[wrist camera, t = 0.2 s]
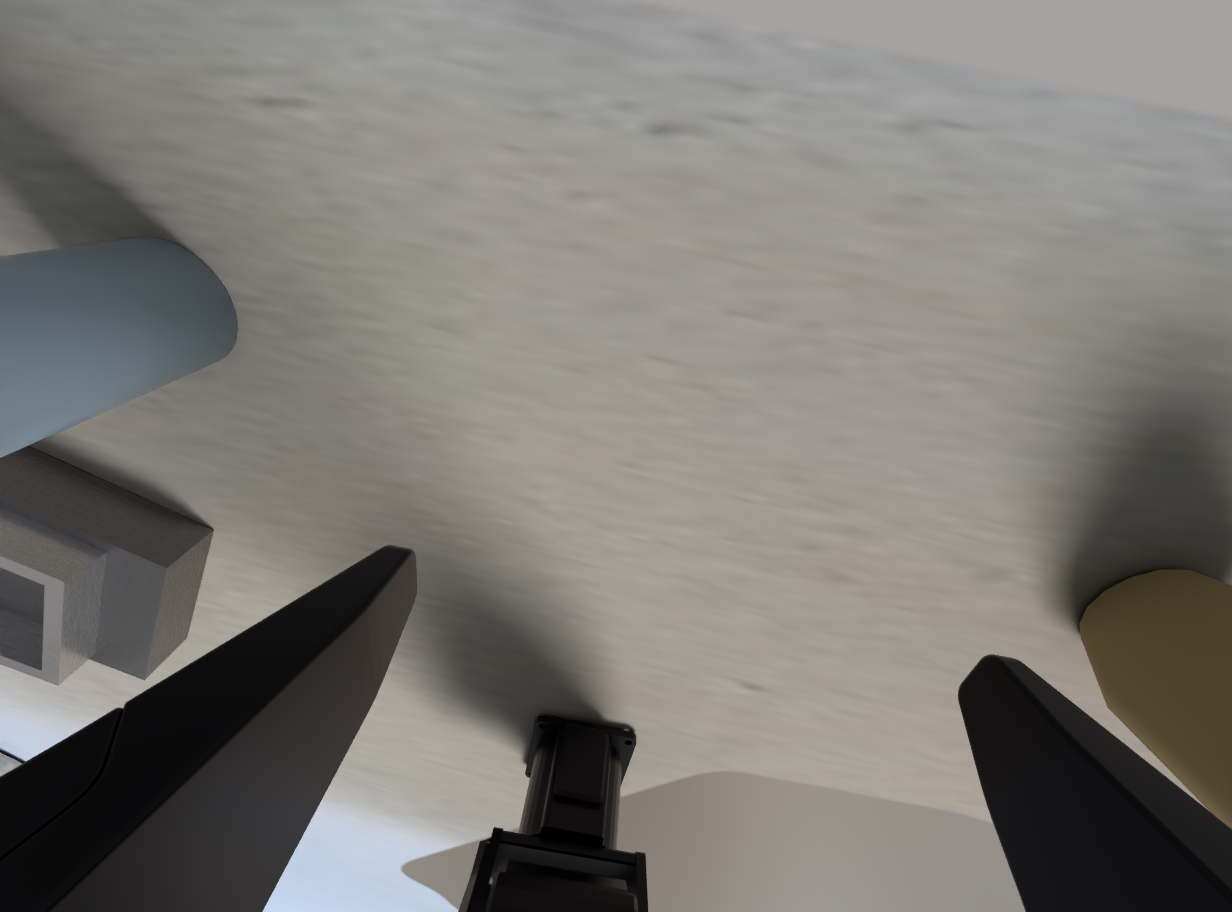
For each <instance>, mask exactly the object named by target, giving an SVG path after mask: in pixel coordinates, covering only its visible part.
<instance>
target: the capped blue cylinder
mask: <svg viewBox="0 0 1232 912" xmlns="http://www.w3.org/2000/svg"><path fill="white" fill-rule="evenodd" d="M237 331H238V330H237V317H236V313H235V309H234V306H233V303H232V301H231V298H230V296H229V294H228V293H227V291H226V289H225V287H224V286H223V284H222V283H221V281H220V280H219V279H218V277H217V276H216V275H215V274H214V273H213V272H212V270H211V269H210V268H209V267H208V266H207V265H206V264H205V263H203V262H202V261H201V260H200V259H199V258H197V257H196V256H195V255H193V254H192V253H191V252H189V251H187V250H186V249H184V248H183V247H181V246H178V245H176V244H174V243H172V242H169V241H166V240H163V239H159V238H153V237H138V238H131V239H124V240H117V241H110V242H102V243H95V244H88V245H81V246H74V247H66V248H59V249H52V250H45V251H38V252H31V253H23V254H16V255H9V256H2V257H0V458H1V457H4V456H6V455H8V454H10V453H13V452H15V451H17V450H19V449H22V448H24V447H26V446H28V445H31V444H33V443H35V442H37V441H40V440H42V439H44V438H46V437H49V436H51V435H53V434H55V433H58V432H60V431H62V430H64V429H67V428H69V427H71V426H73V425H76V424H78V423H80V422H82V421H85V420H87V419H89V418H91V417H94V416H96V415H98V414H100V413H103V412H105V411H107V410H109V409H112V408H114V407H116V406H118V405H121V404H123V403H125V402H127V401H130V400H132V399H134V398H136V397H139V396H141V395H143V394H145V393H148V392H150V391H152V390H154V389H157V388H159V387H161V386H163V385H166V384H168V383H170V382H172V381H175V380H177V379H179V378H181V377H184V376H186V375H188V374H190V373H193V372H195V371H197V370H199V369H202V368H204V367H206V366H208V365H211V364H213V363H215V362H217V361H219V360H221V359H223V358H224V357H225V356H226V355H228V353H229V352H230V351H231V350H232V348H233V346H234V344H235V341H236V338H237Z"/></svg>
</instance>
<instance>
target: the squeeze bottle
mask: <svg viewBox="0 0 1232 912" xmlns="http://www.w3.org/2000/svg"><path fill="white" fill-rule="evenodd" d="M1079 626H1080V633H1081V639H1082V642H1083V645H1084V647H1085V650H1086V652H1087V655H1088V658H1089V660H1090V663H1091V665H1092V668H1093V671H1094V673H1095V676H1096V678H1097V681H1098V684H1099V686H1100V689H1101V692H1102V694H1103V697H1104V699H1105V702H1106V705H1107V707H1108V708H1109V709H1110V710H1111V711H1112V712H1113V713H1114V714H1115V715H1116V716H1117V717H1118V718H1119V719H1120V720H1121V721H1122V722H1123V723H1124V724H1125V725H1126V726H1127V727H1128V728H1129V730H1130V731H1131V732H1132V733H1133V734H1134V735H1135V736H1136V737H1137V738H1138V739H1139V740H1140V741H1141V742H1142V743H1143V744H1144V745H1145V746H1146V747H1147V748H1148V749H1149V750H1150V751H1151V752H1152V753H1153V754H1154V755H1155V756H1156V757H1157V758H1158V759H1159V760H1160V761H1161V762H1162V763H1163V764H1164V765H1165V766H1166V767H1167V768H1168V769H1169V770H1170V771H1171V772H1172V773H1173V774H1174V775H1175V776H1176V777H1177V778H1178V779H1179V780H1180V781H1181V782H1182V783H1183V784H1184V785H1185V786H1186V787H1187V789H1188V790H1189V791H1190V792H1191V793H1192V794H1193V795H1194V796H1195V797H1196V798H1197V799H1198V800H1199V801H1200V802H1201V803H1202V804H1203V805H1204V806H1205V807H1206V808H1207V809H1208V810H1209V811H1210V812H1211V813H1212V814H1213V815H1215V816H1216V817H1217V818H1218V819H1220V820H1221V821H1222V822H1223V823H1225V824H1226V825H1227V826H1228V827H1230V828H1231V829H1232V585H1229V584H1226V583H1224V582H1221V581H1219V580H1216V579H1214V578H1211V577H1208V576H1205V575H1203V574H1200V573H1197V572H1194V571H1191V570H1188V569H1179V570H1157V571H1153V572H1149V573H1145V574H1141V575H1137V576H1133V577H1130V578H1128V579H1126V580H1124V581H1122V582H1120V583H1118V584H1116V585H1115V586H1113V587H1111V588H1109V589H1107V590H1105V591H1104V592H1103V593H1102V594H1101V595H1100V596H1098V597H1097V598H1096V599H1095V600H1094V601H1093V602H1092V603H1091V604H1090V605H1089V606H1087V608H1086V610H1085V613H1084V615H1083V617H1082V619H1081V621H1080V623H1079Z"/></svg>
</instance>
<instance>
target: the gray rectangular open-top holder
mask: <svg viewBox="0 0 1232 912" xmlns="http://www.w3.org/2000/svg"><path fill="white" fill-rule="evenodd" d="M213 531H214V530H213V529H211V528H208V527H206V526H204V525H202V524H199V523H197V522H195V521H193V520H191V519H188V518H186V517H184V516H182V515H180V514H177V513H175V512H173V511H171V510H168V509H166V508H164V507H162V506H160V505H157V504H155V503H153V502H151V501H148V500H146V499H144V498H142V497H140V496H137V495H135V494H133V493H131V492H129V491H126V490H124V489H122V488H120V487H117V486H115V485H113V484H111V483H109V482H106V481H104V480H102V479H100V478H97V477H95V476H93V475H91V474H89V473H86V472H84V471H82V470H80V469H78V468H75V467H73V466H71V465H69V464H66V463H64V462H62V461H60V460H58V459H55V458H53V457H51V456H49V455H46V454H44V453H42V452H40V451H38V450H35V449H33V448H31V447H29V446H26V447H24V448H22V449H19V450H17V451H15V452H13V453H10V454H8V455H6V456H4V457H1V458H0V664H1V665H4V666H7V667H9V668H12V669H15V670H18V671H20V672H23V673H26V674H28V675H31V676H34V677H36V678H39V679H42V680H45V681H47V682H50V683H53V684H55V685H60V684H61V683H62V682H63V681H64V680H65V679H67V678H68V677H69V676H70V675H71V674H72V673H73V672H75V671H76V670H77V669H78V668H79V667H80V666H82V665H83V664H84V663H85V662H86V661H87V660H88V659H91V660H93V661H96V662H98V663H101V664H104V665H106V666H109V667H111V668H114V669H117V670H119V671H122V672H124V673H127V674H130V675H132V676H135V677H137V678H140V679H143V680H145V679H146V678H147V677H148V676H149V675H150V674H151V673H152V672H153V671H154V670H155V669H156V668H157V667H158V666H159V665H160V664H161V663H162V662H163V661H164V660H165V659H166V658H167V657H168V656H169V655H170V654H171V653H172V652H173V651H174V650H175V649H176V648H177V647H178V646H179V645H180V644H181V643H182V642H183V641H184V640H185V639H186V638H187V635H188V631H189V627H190V623H191V619H192V615H193V611H194V607H195V603H196V599H197V595H198V591H199V587H200V583H201V579H202V575H203V571H204V567H205V563H206V559H207V555H208V551H209V547H210V543H211V539H212V535H213Z"/></svg>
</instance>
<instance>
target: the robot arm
mask: <svg viewBox="0 0 1232 912" xmlns="http://www.w3.org/2000/svg"><path fill="white" fill-rule="evenodd" d="M416 593H417V570H416V555H415V552H414V551H413V550H412V549H410V548H404V547H398V546H393V545H387V546H384V547H382V548H381V549H379V550H377V551H376V552H374V553H372V554H371V555H369V556H367V557H366V558H364V559H362V560H361V561H359V562H357V563H356V564H354V565H353V566H351V567H349V568H348V569H346V570H344V571H343V572H341V573H339V574H338V575H336V576H334V577H333V578H331V579H329V580H328V581H326V582H324V583H323V584H321V585H319V586H318V587H316V588H314V589H313V590H311V591H310V592H308V593H306V594H305V595H303V596H301V597H300V598H298V599H296V600H295V601H293V602H291V603H290V604H288V605H286V606H285V607H283V608H281V609H280V610H278V611H276V612H275V613H273V614H272V615H270V616H268V617H267V618H265V619H263V620H262V621H260V622H258V623H257V624H255V625H253V626H252V627H250V628H248V629H247V630H245V631H243V632H242V633H240V634H238V635H237V636H235V637H234V638H232V639H230V640H229V641H227V642H225V643H224V644H222V645H220V646H219V647H217V648H215V649H214V650H212V651H210V652H209V653H207V654H205V655H204V656H202V657H200V658H199V659H197V660H195V661H194V662H192V663H191V664H189V665H187V666H186V667H184V668H182V669H181V670H179V671H177V672H176V673H174V674H172V675H171V676H169V677H167V678H166V679H164V680H162V681H161V682H159V683H157V684H156V685H154V686H153V687H151V688H149V689H148V690H146V691H144V692H143V693H141V694H139V695H138V696H136V697H134V698H133V699H131V700H129V701H128V702H126V704H125V705H124V707H123V709H122V708H116V709H114V710H112V711H111V712H109V713H107V714H106V715H104V716H102V717H101V718H99V719H98V720H96V721H94V722H93V723H91V724H89V725H88V726H86V727H84V728H83V729H81V730H79V731H78V732H76V733H74V734H73V735H71V736H69V737H67V738H66V739H64V740H62V741H61V742H59V743H57V744H55V745H54V746H52V747H50V748H49V749H47V750H45V751H43V752H42V753H40V754H38V755H37V756H35V757H33V758H31V759H30V760H28V761H26V762H25V763H23V764H21V765H19V766H18V767H16V768H14V769H13V770H11V771H9V772H7V773H5V774H4V775H2V776H0V912H262V911H263V909H264V907H265V905H266V904H267V902H268V900H269V898H270V896H271V894H272V892H273V890H274V889H275V887H276V885H277V883H278V881H279V879H280V877H281V875H282V873H283V872H284V870H285V868H286V866H287V864H288V862H289V860H290V858H291V857H292V855H293V853H294V851H295V849H296V847H297V845H298V843H299V841H300V840H301V838H302V836H303V834H304V832H305V830H306V828H307V826H308V825H309V823H310V821H311V819H312V817H313V815H314V813H315V811H316V809H317V808H318V806H319V804H320V802H321V800H322V798H323V796H324V794H325V793H326V791H327V789H328V787H329V785H330V783H331V781H332V779H333V777H334V776H335V774H336V772H337V770H338V768H339V766H340V764H341V762H342V761H343V759H344V757H345V755H346V753H347V751H348V749H349V747H350V745H351V744H352V742H353V740H354V738H355V736H356V734H357V732H358V730H359V729H360V727H361V725H362V723H363V721H364V719H365V717H366V715H367V713H368V712H369V710H370V708H371V706H372V704H373V702H374V699H375V697H376V695H377V693H378V691H379V688H380V686H381V684H382V681H383V679H384V676H385V674H386V671H387V669H388V666H389V664H390V661H391V659H392V656H393V654H394V651H395V649H396V646H397V644H398V641H399V639H400V636H401V634H402V631H403V629H404V626H405V624H406V621H407V619H408V616H409V614H410V611H411V609H412V606H413V604H414V601H415V598H416ZM958 700H959V705H960V708H961V712H962V716H963V720H964V723H965V727H966V731H967V734H968V738H969V742H970V746H971V749H972V753H973V757H974V761H975V764H976V768H977V772H978V775H979V779H980V783H981V786H982V790H983V793H984V797H985V800H986V803H987V806H988V809H989V812H990V815H991V818H992V821H993V824H994V826H995V829H996V832H997V835H998V837H999V840H1000V843H1001V846H1002V848H1003V851H1004V854H1005V856H1006V859H1007V861H1008V864H1009V867H1010V870H1011V873H1012V875H1013V878H1014V881H1015V883H1016V886H1017V889H1018V892H1019V894H1020V897H1021V900H1022V903H1023V905H1024V908H1025V911H1026V912H1232V829H1231V828H1230V827H1228V826H1227V825H1226V824H1225V823H1223V822H1222V821H1221V820H1220V819H1218V818H1217V817H1216V816H1215V815H1213V814H1212V813H1211V812H1210V811H1208V810H1207V809H1206V808H1205V807H1203V806H1202V805H1201V804H1200V803H1198V802H1197V801H1196V800H1194V799H1193V798H1192V797H1191V796H1189V795H1188V794H1187V793H1186V792H1184V791H1183V790H1182V789H1181V788H1179V787H1178V786H1177V785H1176V784H1174V783H1173V782H1172V781H1171V780H1169V779H1168V778H1167V777H1166V776H1164V775H1163V774H1162V773H1161V772H1159V771H1158V770H1157V769H1155V768H1154V767H1153V766H1152V765H1150V764H1149V763H1148V762H1147V761H1145V760H1144V759H1143V758H1142V757H1140V756H1139V755H1138V754H1137V753H1135V752H1134V751H1133V750H1132V749H1130V748H1129V747H1128V746H1127V745H1125V744H1124V743H1123V742H1121V741H1120V740H1119V739H1118V738H1116V737H1115V736H1114V735H1113V734H1111V733H1110V732H1109V731H1108V730H1106V729H1105V728H1104V727H1103V726H1101V725H1100V724H1099V723H1098V722H1096V721H1095V720H1094V719H1093V718H1091V717H1090V716H1089V715H1088V714H1086V713H1085V712H1084V711H1082V710H1081V709H1080V708H1079V707H1077V706H1076V705H1075V704H1074V703H1072V702H1071V701H1070V700H1069V699H1067V698H1066V697H1065V696H1064V695H1062V694H1061V693H1060V692H1059V691H1057V690H1056V689H1055V688H1054V687H1052V686H1051V685H1050V684H1049V683H1047V682H1046V681H1045V680H1043V679H1042V678H1041V677H1040V676H1038V675H1037V674H1036V673H1035V672H1033V671H1032V670H1031V669H1030V668H1028V667H1027V666H1026V665H1025V664H1023V663H1022V662H1021V661H1019V660H1017V659H1014V658H1010V657H1004V656H999V655H993V654H991V655H987V656H984V657H983V658H982V659H981V660H980V661H979V662H978V664H977V665H976V666H975V667H974V668H973V670H972V671H971V672H970V673H969V675H968V676H967V677H966V678H965V679H964V681H963V682H962V683H961V685H960V687H959V690H958ZM635 746H636V735H635V734H634V733H632V732H628V731H623V730H618V729H612V728H607V727H602V726H597V725H591V724H586V723H581V722H576V721H571V720H565V719H560V718H555V717H550V716H544V715H541V716H538V717H537V718H536V721H535V726H534V731H533V736H532V741H531V746H530V752H529V757H528V762H527V767H526V772H525V774H526V776H527V777H529V778H530V781H529V786H528V790H527V795H526V800H525V804H524V809H523V814H522V819H521V823H520V828H519V833H514V832H508V831H503V829H502V828H497V827H494V829H493V832H492V836H491V838H489V839H487V840H483V841H480V843H479V847H478V851H477V855H476V859H475V862H474V866H473V870H472V873H471V877H470V880H469V882H468V885H467V888H466V891H465V894H464V897H463V900H462V903H461V906H460V908H459V911H458V912H648V899H647V878H646V857H645V853H642V852H635V853H630V852H624V851H619V850H617V834H618V819H619V818H618V817H619V803H620V788H621V784H622V781H623V778H624V776H625V773H626V770H627V767H628V765H629V762H630V759H631V757H632V754H633V751H634V748H635Z"/></svg>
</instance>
